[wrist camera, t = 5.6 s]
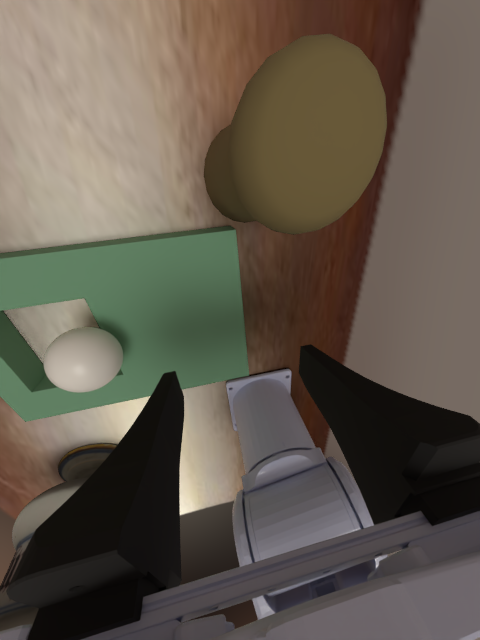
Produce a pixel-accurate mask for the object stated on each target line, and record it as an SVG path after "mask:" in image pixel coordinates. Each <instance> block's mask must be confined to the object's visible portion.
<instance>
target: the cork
mask: <svg viewBox="0 0 480 640" xmlns="http://www.w3.org/2000/svg"><path fill="white" fill-rule="evenodd" d="M386 127H387V117H386V99H385V93H384V90H383V87H382V84H381V81H380V78H379V75H378V72H377V69H376V68H375V67H374V66H373V64H372V63H371V62H370V61H369V59H368V58H367V57H366V56H365V54H364V53H363V52H362V51H361V49H360V48H358V47H357V46H355V45H353V44H351V43H349V42H347V41H345V40H342V39H340V38H338V37H336V36H334V35H332V34H323V35H311V36H302V37H301V38H299V39H297V40H296V41H294V42H292V43H291V44H289V45H287V46H286V47H284V48H283V49H281V50H279V51H278V52H276V53H274V54H273V55H271V56H269V57H268V58H267V59H266V60H265V62H264V63H263V64H262V65H261V67H260V68H259V69H258V71H257V72H256V73H255V74H254V76H253V77H252V78H251V80H250V81H249V82H248V83H247V85H246V87H245V90H244V92H243V95H242V97H241V100H240V102H239V105H238V107H237V110H236V112H235V115H234V117H233V120H232V123H231V125H229V126H228V127H226V128H225V129H223V130H221V131H220V133H219V134H218V135H217V136H216V138H215V139H214V140H213V141H212V143H211V145H210V147H209V150H208V153H207V155H206V158H205V168H204V178H205V184H206V189H207V192H208V194H209V196H210V199H211V201H212V203H213V205H214V206H215V207H216V208H217V209H218V210H219V211H220V212H221V213H222V214H223V215H224V216H226V217H228V218H230V219H231V220H233V221H239V222H244V223H245V222H251V221H258V222H260V223H261V224H263V225H265V226H266V227H268V228H270V229H271V230H274V231H277V232H282V233H288V234H293V235H294V234H300V233H305V232H311V231H315V230H319V229H321V228H323V227H325V226H327V225H329V224H330V223H332V222H334V221H336V220H338V219H339V218H340V217H341V216H342V215H343V214H344V213H345V212H346V211H347V210H348V209H349V208H350V207H351V206H352V205H353V204H355V202H356V201H357V200H358V199H359V197H360V196H361V194H362V193H363V191H364V190H365V188H366V187H367V185H368V184H369V182H370V181H371V179H372V177H373V175H374V172H375V170H376V167H377V165H378V162H379V159H380V157H381V154H382V151H383V145H384V139H385V133H386Z"/></svg>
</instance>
